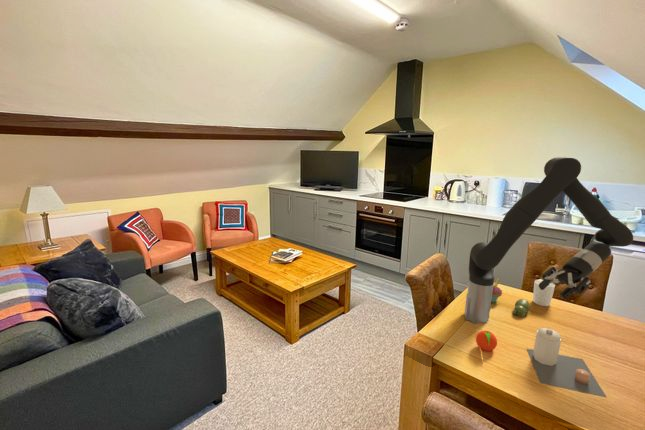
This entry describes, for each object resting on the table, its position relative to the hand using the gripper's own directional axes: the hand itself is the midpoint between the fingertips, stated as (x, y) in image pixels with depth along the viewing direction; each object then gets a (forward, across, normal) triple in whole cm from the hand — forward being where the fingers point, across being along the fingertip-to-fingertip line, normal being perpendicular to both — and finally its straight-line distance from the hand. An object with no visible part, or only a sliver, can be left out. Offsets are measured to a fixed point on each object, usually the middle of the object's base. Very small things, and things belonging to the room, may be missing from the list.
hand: (550, 292), depth 115 cm
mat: (+18, +11, +16) cm, 26 cm away
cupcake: (+5, -36, +19) cm, 41 cm away
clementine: (+30, -5, +5) cm, 31 cm away
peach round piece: (+16, +16, +16) cm, 28 cm away
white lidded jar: (+18, +5, +14) cm, 23 cm away
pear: (+2, -23, +22) cm, 32 cm away
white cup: (-12, -28, +31) cm, 44 cm away
